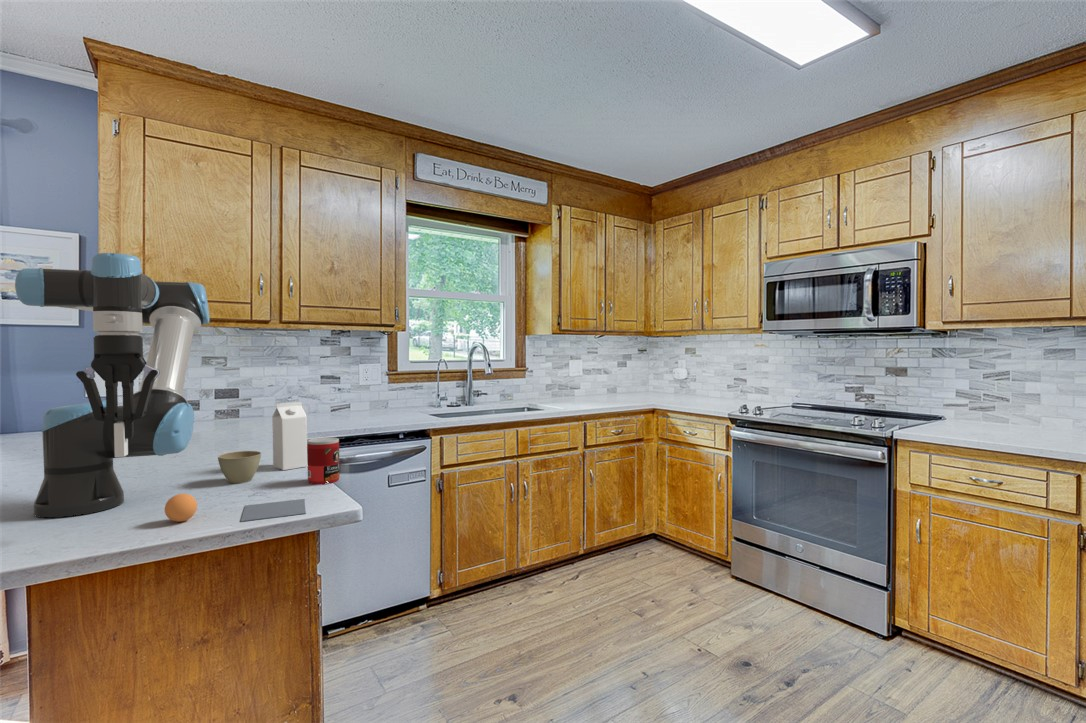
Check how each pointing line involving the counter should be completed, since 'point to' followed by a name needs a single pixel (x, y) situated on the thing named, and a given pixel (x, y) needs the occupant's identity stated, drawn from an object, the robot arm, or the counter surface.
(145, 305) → the robot arm
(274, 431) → the milk carton
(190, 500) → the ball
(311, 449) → the canned food
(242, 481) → the olive green bowl
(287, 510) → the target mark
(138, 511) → the counter surface
